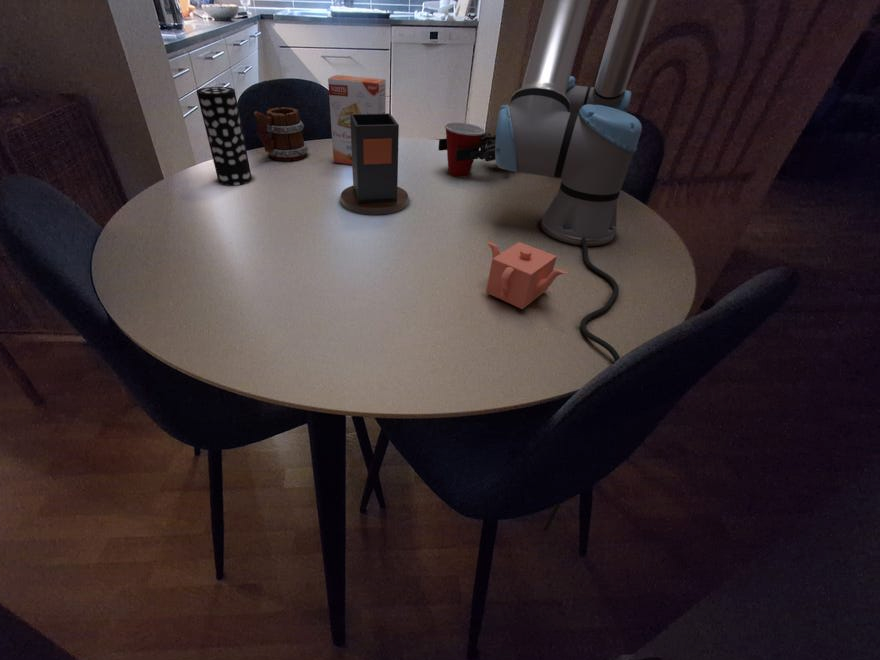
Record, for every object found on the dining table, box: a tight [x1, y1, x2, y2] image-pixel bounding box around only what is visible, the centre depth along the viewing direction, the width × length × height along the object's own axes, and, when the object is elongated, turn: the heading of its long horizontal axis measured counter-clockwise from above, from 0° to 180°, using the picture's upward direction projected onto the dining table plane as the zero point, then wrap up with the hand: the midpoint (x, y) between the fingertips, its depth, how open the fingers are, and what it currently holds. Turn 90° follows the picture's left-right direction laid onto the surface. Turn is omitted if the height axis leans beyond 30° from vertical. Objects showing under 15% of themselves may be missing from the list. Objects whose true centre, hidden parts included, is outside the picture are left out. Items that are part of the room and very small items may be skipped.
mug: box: [253, 106, 309, 162], centre depth 123 cm, size 12×14×15 cm
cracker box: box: [327, 74, 387, 166], centre depth 118 cm, size 14×6×21 cm, turn 73°
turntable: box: [340, 185, 409, 216], centre depth 104 cm, size 16×16×2 cm
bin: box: [350, 113, 400, 203], centre depth 98 cm, size 9×10×16 cm
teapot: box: [485, 240, 569, 310], centre depth 72 cm, size 12×15×8 cm
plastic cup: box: [444, 121, 486, 178], centre depth 117 cm, size 11×11×12 cm
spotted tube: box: [195, 86, 253, 186], centre depth 106 cm, size 8×8×20 cm
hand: (447, 149), depth 115 cm, fingers closed on plastic cup, 9 cm apart
